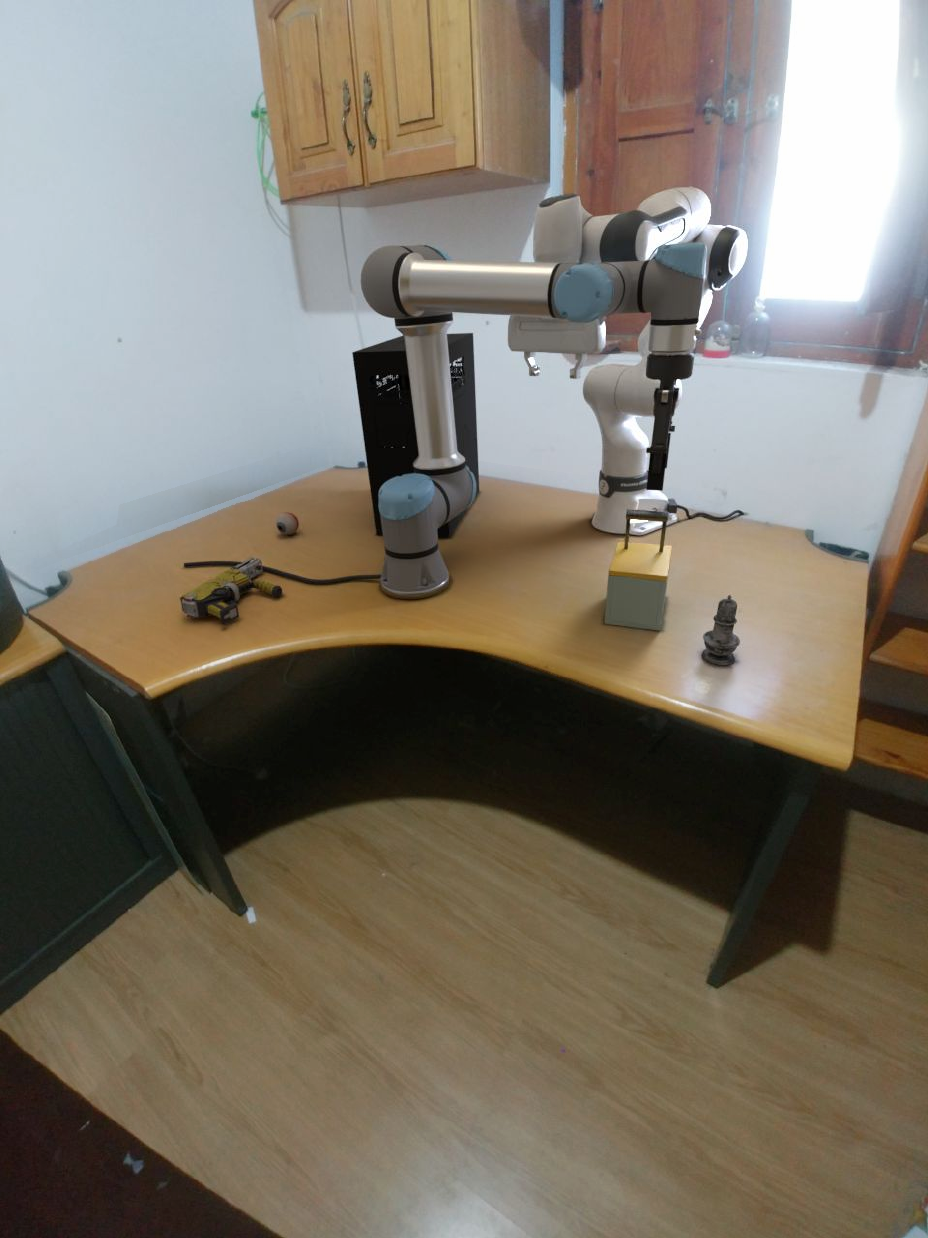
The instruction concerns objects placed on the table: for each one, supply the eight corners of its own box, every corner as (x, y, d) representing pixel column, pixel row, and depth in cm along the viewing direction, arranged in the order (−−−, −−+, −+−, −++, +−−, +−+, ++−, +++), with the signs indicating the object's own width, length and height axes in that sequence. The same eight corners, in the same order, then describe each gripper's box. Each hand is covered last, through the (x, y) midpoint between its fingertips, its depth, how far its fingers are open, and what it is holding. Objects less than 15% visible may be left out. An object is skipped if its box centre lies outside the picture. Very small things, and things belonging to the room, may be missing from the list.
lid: (618, 545, 122) (621, 503, 118) (671, 550, 119) (677, 506, 114) (608, 575, 111) (611, 529, 106) (666, 581, 107) (672, 534, 103)
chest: (614, 592, 127) (617, 547, 122) (665, 597, 123) (671, 551, 118) (604, 623, 116) (608, 575, 111) (660, 630, 113) (666, 581, 107)
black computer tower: (449, 537, 157) (436, 349, 134) (376, 534, 161) (352, 352, 139) (479, 491, 188) (473, 332, 166) (417, 489, 193) (403, 335, 170)
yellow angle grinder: (303, 565, 139) (248, 554, 143) (236, 611, 119) (174, 596, 122) (305, 584, 141) (250, 572, 145) (239, 632, 121) (178, 617, 125)
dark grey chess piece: (739, 667, 101) (752, 604, 95) (702, 664, 102) (713, 602, 96) (733, 648, 106) (745, 587, 100) (697, 646, 107) (708, 585, 101)
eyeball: (273, 537, 164) (268, 516, 161) (287, 528, 169) (282, 508, 166) (291, 539, 161) (286, 518, 158) (305, 530, 166) (301, 510, 163)
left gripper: (693, 362, 89) (675, 501, 99) (696, 343, 109) (680, 460, 119) (641, 363, 91) (629, 498, 102) (652, 343, 111) (641, 458, 122)
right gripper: (614, 296, 110) (609, 377, 117) (520, 298, 121) (521, 372, 128) (598, 298, 106) (593, 382, 113) (502, 300, 117) (503, 376, 124)
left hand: (657, 478), depth 110 cm, fingers open, 13 cm apart
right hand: (554, 376), depth 120 cm, fingers open, 8 cm apart
